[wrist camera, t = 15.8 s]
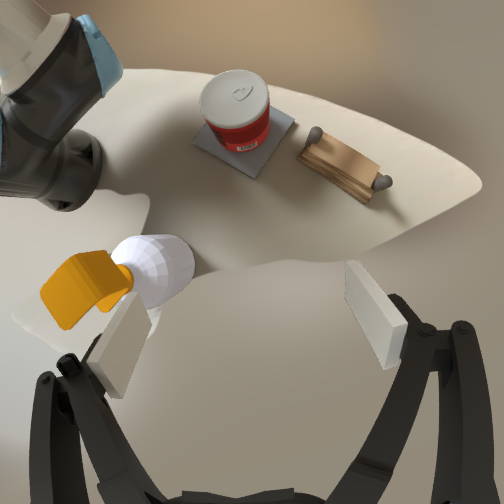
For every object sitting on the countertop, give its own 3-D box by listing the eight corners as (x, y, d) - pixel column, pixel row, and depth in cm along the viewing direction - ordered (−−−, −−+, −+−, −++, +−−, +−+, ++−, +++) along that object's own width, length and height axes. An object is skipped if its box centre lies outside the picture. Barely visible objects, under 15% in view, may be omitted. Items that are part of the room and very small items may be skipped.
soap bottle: (131, 261, 41) (13, 290, 17) (169, 221, 40) (56, 213, 16) (167, 304, 41) (69, 375, 17) (208, 266, 40) (126, 314, 16)
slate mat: (193, 144, 39) (192, 142, 38) (233, 89, 38) (232, 87, 37) (254, 179, 39) (254, 178, 38) (294, 121, 38) (294, 119, 37)
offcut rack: (296, 158, 38) (301, 143, 31) (312, 132, 38) (320, 114, 31) (365, 205, 38) (383, 200, 31) (380, 179, 38) (399, 170, 31)
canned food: (279, 121, 37) (282, 86, 26) (249, 164, 38) (242, 139, 27) (236, 98, 37) (225, 59, 26) (206, 138, 38) (185, 109, 27)
